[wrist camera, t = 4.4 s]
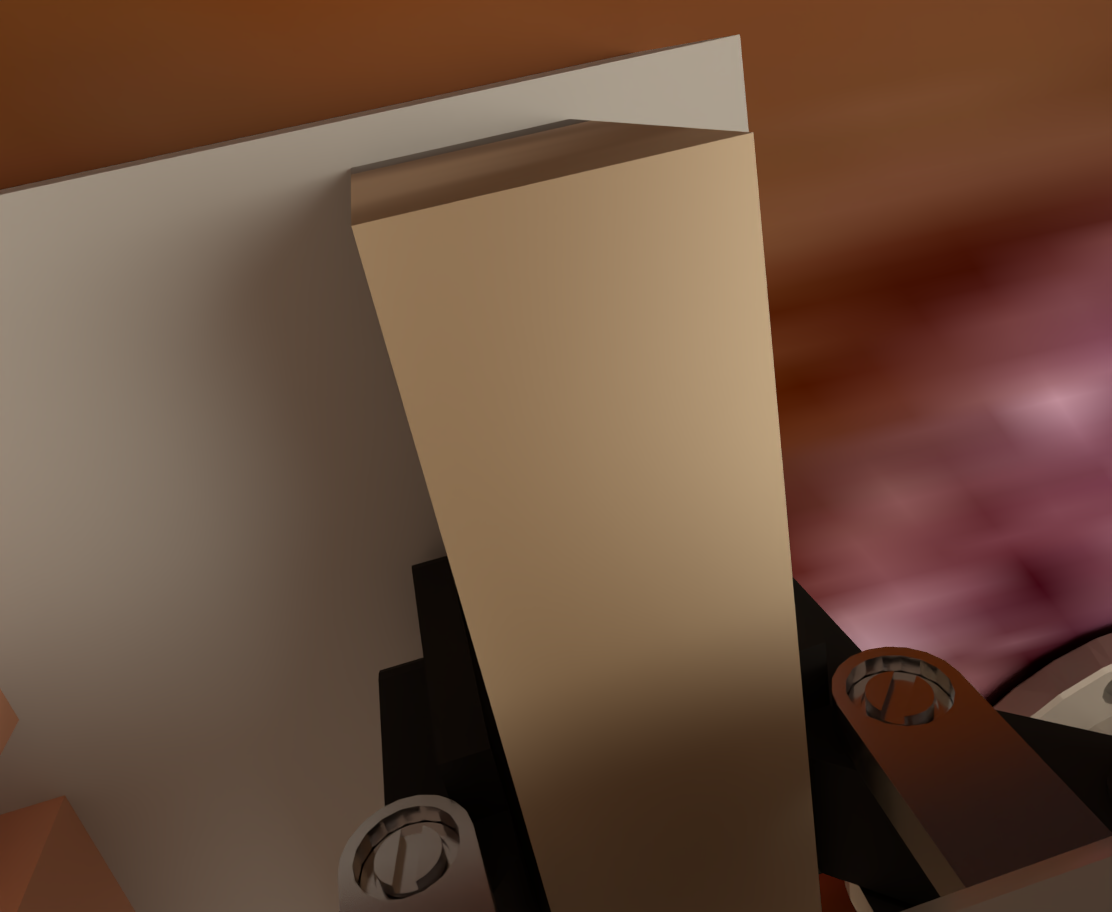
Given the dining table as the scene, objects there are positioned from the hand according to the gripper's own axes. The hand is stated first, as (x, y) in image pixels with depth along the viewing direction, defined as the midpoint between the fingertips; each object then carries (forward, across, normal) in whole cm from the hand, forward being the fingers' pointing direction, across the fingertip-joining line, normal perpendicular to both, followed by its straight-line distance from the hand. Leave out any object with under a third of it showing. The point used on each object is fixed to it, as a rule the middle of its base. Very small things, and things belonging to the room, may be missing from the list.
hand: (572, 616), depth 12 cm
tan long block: (0, 0, 0) cm, 0 cm away
